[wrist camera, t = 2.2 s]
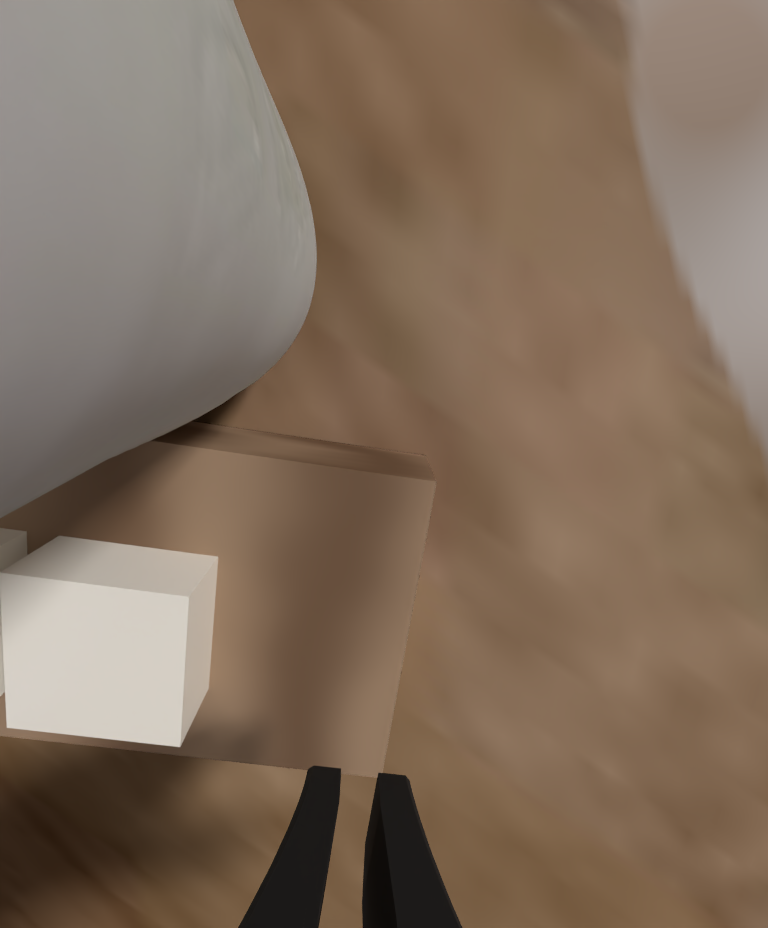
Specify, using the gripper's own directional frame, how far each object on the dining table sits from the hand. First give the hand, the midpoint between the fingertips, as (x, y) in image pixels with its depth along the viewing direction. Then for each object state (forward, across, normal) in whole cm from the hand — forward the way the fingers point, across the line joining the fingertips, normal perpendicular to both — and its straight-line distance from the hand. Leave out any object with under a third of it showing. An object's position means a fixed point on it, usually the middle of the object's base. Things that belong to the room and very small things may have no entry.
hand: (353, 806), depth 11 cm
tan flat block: (+9, +8, 0) cm, 13 cm away
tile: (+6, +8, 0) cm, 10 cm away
